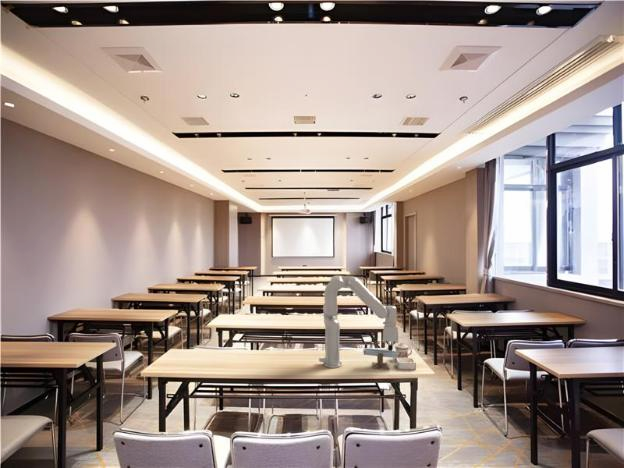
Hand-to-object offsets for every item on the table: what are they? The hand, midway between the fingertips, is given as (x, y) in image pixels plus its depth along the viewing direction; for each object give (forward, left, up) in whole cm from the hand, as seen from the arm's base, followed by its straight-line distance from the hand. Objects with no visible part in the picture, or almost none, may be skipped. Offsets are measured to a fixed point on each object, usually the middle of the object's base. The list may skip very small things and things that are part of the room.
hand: (390, 350), depth 249 cm
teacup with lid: (+10, +10, -9) cm, 17 cm away
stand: (-8, -6, -9) cm, 13 cm away
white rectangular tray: (+9, -6, -9) cm, 14 cm away
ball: (+12, -6, -7) cm, 15 cm away
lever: (-8, -2, -1) cm, 8 cm away
